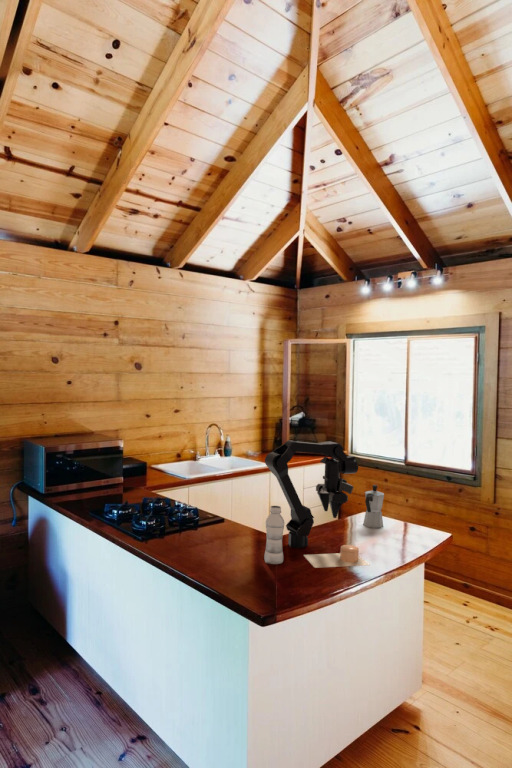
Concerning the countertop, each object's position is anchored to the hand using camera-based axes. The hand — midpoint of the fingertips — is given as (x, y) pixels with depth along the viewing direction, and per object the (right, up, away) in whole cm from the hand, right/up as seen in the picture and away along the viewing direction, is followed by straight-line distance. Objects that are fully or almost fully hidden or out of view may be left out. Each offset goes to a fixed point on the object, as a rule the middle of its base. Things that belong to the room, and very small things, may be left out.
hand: (330, 514), depth 195 cm
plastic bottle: (-23, -12, -22) cm, 34 cm away
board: (-1, -12, -19) cm, 23 cm away
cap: (+4, -11, -18) cm, 22 cm away
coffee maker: (+23, -13, +28) cm, 38 cm away
